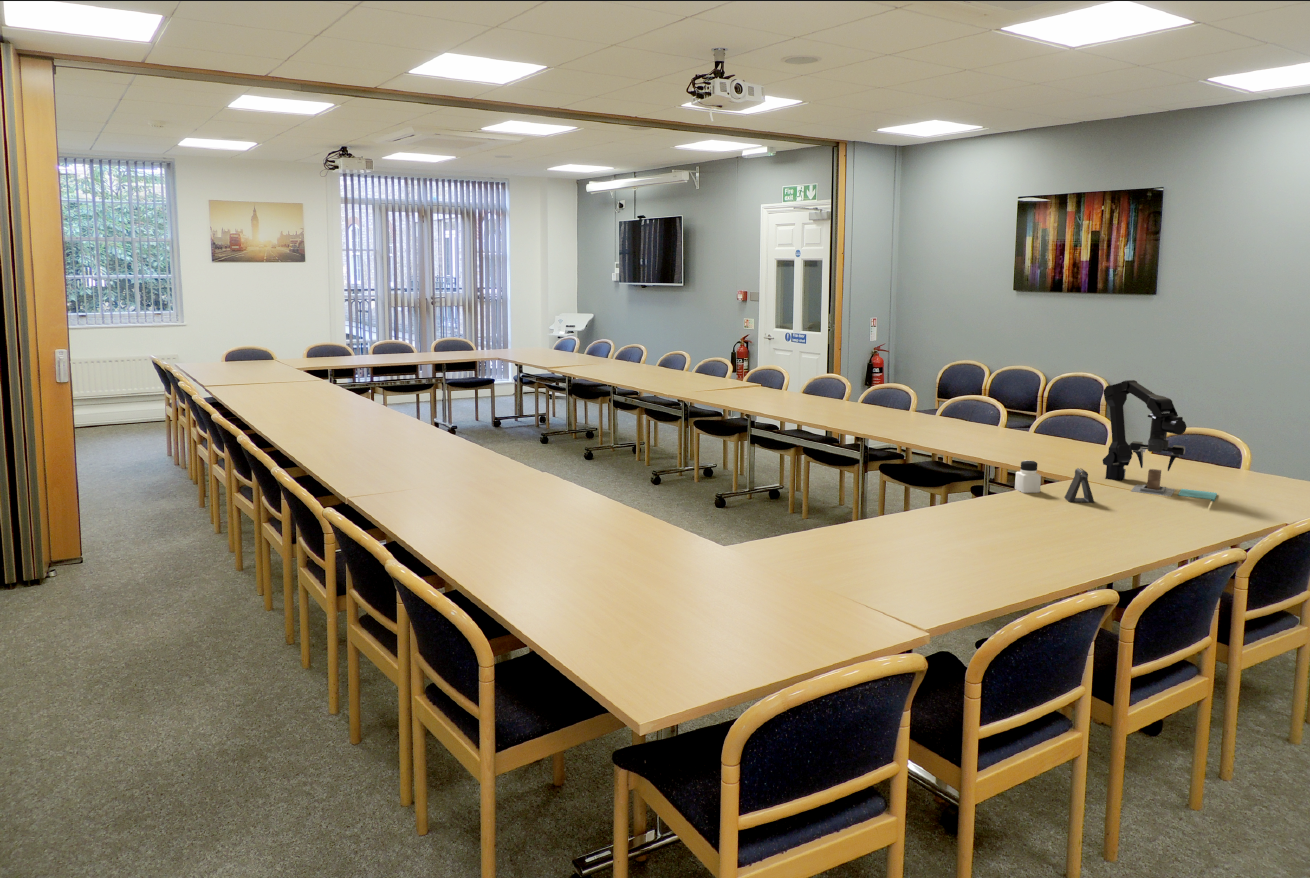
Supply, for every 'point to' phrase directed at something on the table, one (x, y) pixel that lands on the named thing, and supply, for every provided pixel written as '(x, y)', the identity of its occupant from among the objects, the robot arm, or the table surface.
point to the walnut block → (1154, 479)
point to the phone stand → (1075, 486)
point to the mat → (1198, 494)
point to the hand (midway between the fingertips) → (1154, 469)
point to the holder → (1153, 490)
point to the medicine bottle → (1028, 478)
